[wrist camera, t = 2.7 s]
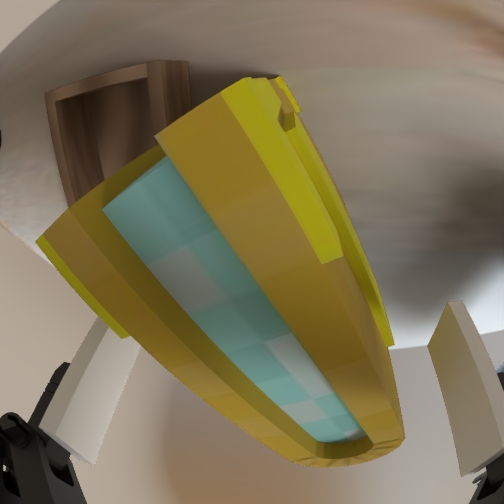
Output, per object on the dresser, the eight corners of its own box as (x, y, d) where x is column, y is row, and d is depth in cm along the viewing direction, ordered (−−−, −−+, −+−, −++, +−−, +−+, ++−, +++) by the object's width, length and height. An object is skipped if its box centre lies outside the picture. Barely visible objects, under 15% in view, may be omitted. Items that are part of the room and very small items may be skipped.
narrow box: (187, 61, 25) (160, 60, 19) (209, 256, 37) (194, 294, 31) (84, 84, 27) (44, 93, 21) (120, 254, 39) (96, 287, 33)
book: (220, 109, 28) (35, 241, 7) (280, 75, 25) (244, 77, 4) (301, 242, 35) (300, 473, 14) (355, 218, 32) (419, 447, 12)
